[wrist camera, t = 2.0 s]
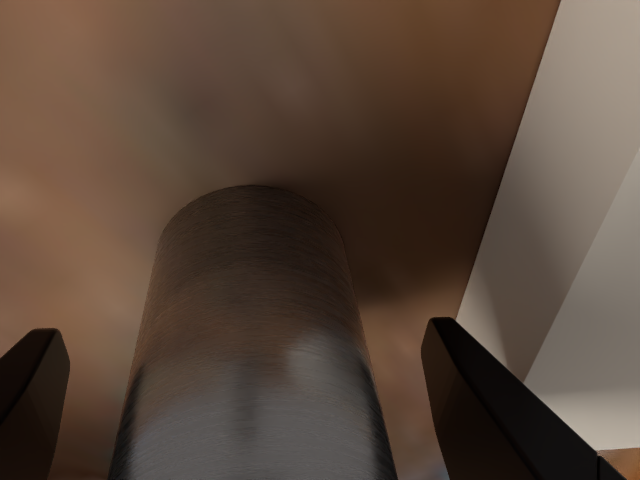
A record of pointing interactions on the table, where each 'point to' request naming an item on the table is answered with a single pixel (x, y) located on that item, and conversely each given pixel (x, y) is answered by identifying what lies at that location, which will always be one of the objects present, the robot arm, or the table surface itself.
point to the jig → (571, 231)
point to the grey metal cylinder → (251, 351)
